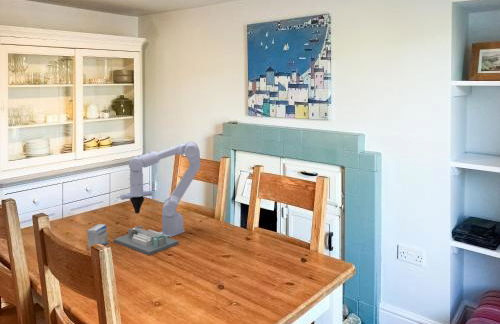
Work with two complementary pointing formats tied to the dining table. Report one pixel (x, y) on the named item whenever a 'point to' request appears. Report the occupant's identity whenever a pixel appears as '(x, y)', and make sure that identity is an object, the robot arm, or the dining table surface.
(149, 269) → the dining table surface
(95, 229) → the medicine box
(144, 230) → the strap
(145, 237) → the heatsink board
